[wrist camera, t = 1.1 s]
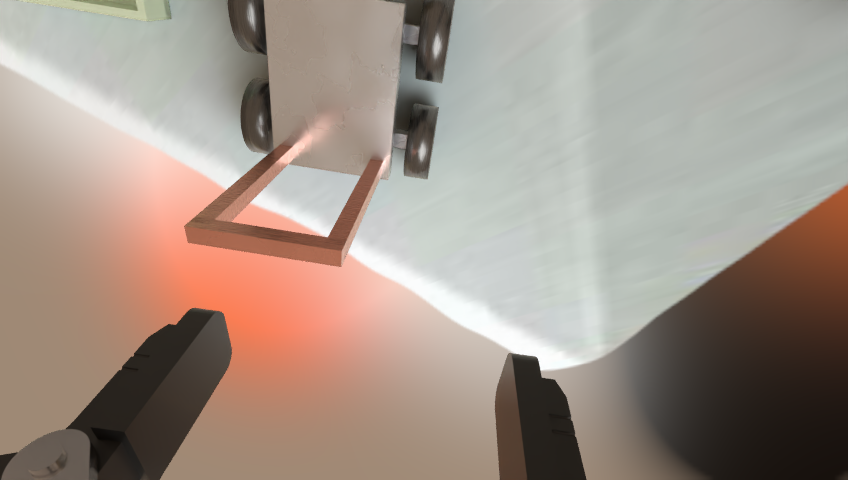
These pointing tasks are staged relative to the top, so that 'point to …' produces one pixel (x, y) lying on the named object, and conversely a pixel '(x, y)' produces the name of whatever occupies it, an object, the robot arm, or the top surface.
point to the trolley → (326, 110)
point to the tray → (116, 7)
